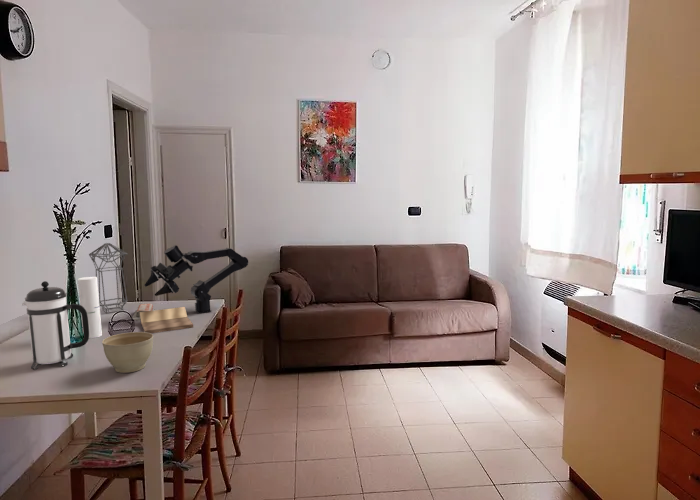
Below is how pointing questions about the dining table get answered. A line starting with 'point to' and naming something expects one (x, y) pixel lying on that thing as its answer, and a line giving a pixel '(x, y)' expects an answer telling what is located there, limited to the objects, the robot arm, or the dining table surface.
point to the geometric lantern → (110, 270)
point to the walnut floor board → (167, 325)
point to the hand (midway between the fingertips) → (149, 290)
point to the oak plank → (163, 315)
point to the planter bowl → (128, 350)
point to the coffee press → (51, 325)
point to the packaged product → (142, 310)
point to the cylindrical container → (91, 304)
